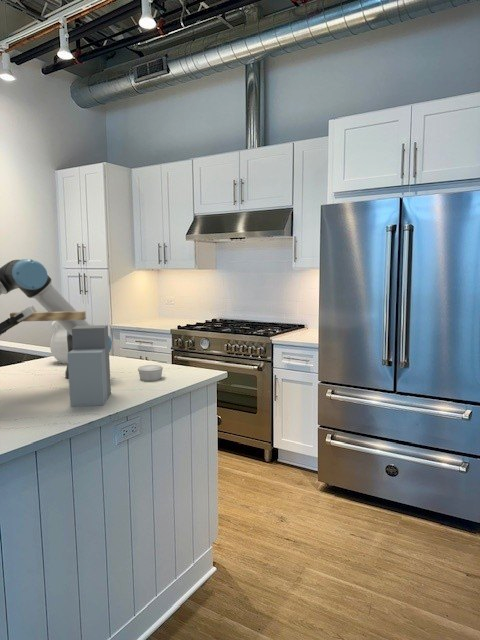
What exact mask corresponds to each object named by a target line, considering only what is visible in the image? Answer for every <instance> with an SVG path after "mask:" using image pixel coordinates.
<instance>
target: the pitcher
mask: <svg viewBox="0 0 480 640" xmlns="http://www.w3.org/2000/svg"><path fill="white" fill-rule="evenodd" d="M55 324H56V326H57V327H55ZM50 327H51V330H53V333H52V335H51V338H50V343H49V347H50V348H49V349H50V353H51V355H52V356H53V357H54V359H55V360H56V361H58V362H59V363H61V364H62V365H67V364H68V356H67V353H68V344H67V330H66V329H65V328H64V327H63V326H62V325H61V324H60V323H59V322H58V321H51V324H50Z"/></svg>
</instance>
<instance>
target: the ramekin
mask: <svg viewBox="0 0 480 640" xmlns="http://www.w3.org/2000/svg"><path fill="white" fill-rule="evenodd" d="M137 371H138V375H139V378H140V380H141V381H144V382H154V381H155V382H156V381H158V380H161V378H162V375H163V366H162V365H159V364H148V365H142V366H139V367H138V368H137Z"/></svg>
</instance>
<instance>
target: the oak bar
mask: <svg viewBox="0 0 480 640" xmlns="http://www.w3.org/2000/svg"><path fill="white" fill-rule="evenodd" d="M18 313H19V312H10V313H9V318H11V317H14V315H16V314H18ZM86 313H87V312H86V311H84V310H83V311H82V310H81V311H79V310H76V311H69V312H48V311H37V312H34V313H33V314H31V315H30V316H28V317H26V318H25V319H23V320H21V321H22V322H54V321H65V320H85V321H86V319H87V315H86Z"/></svg>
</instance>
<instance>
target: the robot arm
mask: <svg viewBox="0 0 480 640" xmlns="http://www.w3.org/2000/svg"><path fill="white" fill-rule="evenodd" d="M52 281H53V279H52V278H51V277H50V275H48V271H47V269H46V267H45V265H44V264H42V263H41V262H39V261H38V260H35V259H31V258H24V259H23V258H22V259H14V260H11V261H10V260H9V261H8V262H6V263H5V264H4V265H2V266H1V267H0V296H1V295H8V294H9V293H10V292H13V291H14V290H17V289H19V290H20V291H21V292H22V293H23V294H24V295H25V296H26V297H27V298H28V299H35V300H36V302H38V303H39V304H40V306H42V307H43V309H44V310H45V311H46V312H69V311H77V310H76V309H75V308H74V307H73V306H72V305H71V304H70V303H69V302H68V301H67V299H66V298H65V297H64V296H63V295H62V294H61V293H60V292H59V291H58V290H57V289H56V288H55V287H54V286H53V284H52ZM34 312H38V310H37V308H36V307H35V306H34V305H32V306H28V307H26V308H25V309H23V310H21V311H20V312H17V313H18V314H16V315H14V317H11V318H10V317H9V318H8V317H7V319H5V320H3V321H1V322H0V336H1V335H2V334H4V333H6V332H7V331H8V330H10V329H12V328H13V327H15V326H17V325H19V324H21V323H22V322H23V321H21V320H23V319H25V318H26V317H28V316H30V315H31V314H33V313H34ZM58 322H59V323H60V324H61V325H62V326H63V327H64V328H65V329H66V330H67V344H68V353H69V352H70V351H71V350H73V342H72V328H74V327H76V326H96V324H94V323H88V321H86V319H85V320H65V321H58ZM108 340H109V353H110V352H111V350H112V347H113V346H112V344H113V342H112V339H111V337H110V336H109V335H108ZM64 373H65V374H64V375H65V378H66V379H68V380H69V373H68V364H66V369H65V372H64Z"/></svg>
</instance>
